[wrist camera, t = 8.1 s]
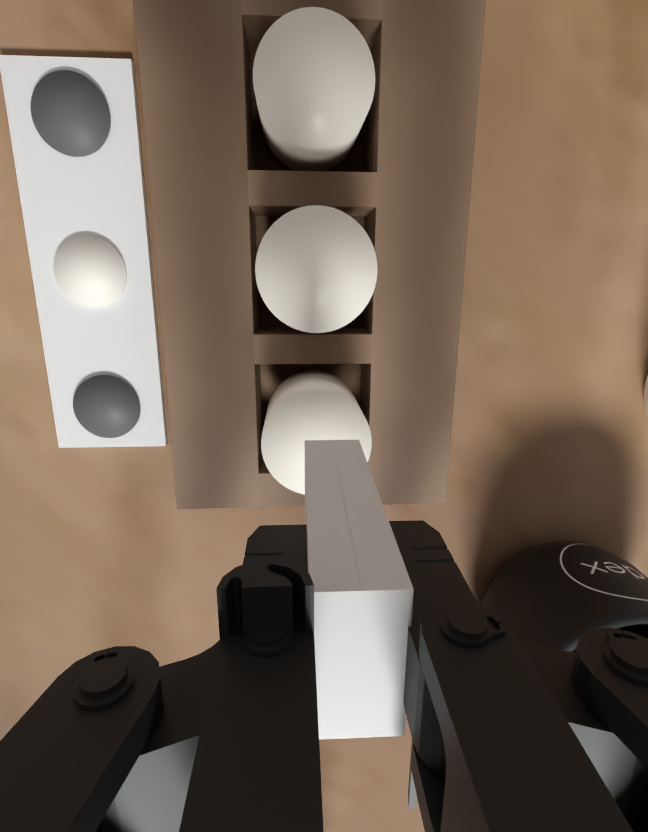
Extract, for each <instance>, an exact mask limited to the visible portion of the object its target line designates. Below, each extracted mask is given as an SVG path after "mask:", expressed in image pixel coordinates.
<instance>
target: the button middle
mask: <svg viewBox="0 0 648 832" xmlns="http://www.w3.org/2000/svg"><path fill="white" fill-rule="evenodd" d="M255 274H256V282H257V286H258V289H259V292H260V295H261V297H262V299H263V301H264V303H265V304H266V306H267V307H268V309H269V310H270V311H271V312H272V313H273V314H274V316H276V317H277V318H278V319H279V320H280V321H282V322H283V323H285V324H286V325H288V326H290V327H292V328H294V329H297V330H300V331H304V332H309V333H325V332H330V331H334V330H336V329H339V328H341V327H343V326H345V325H347V324H349V323H350V322H352V321H353V320H354V319H355V318H356V317H358V316H359V315H360V313H361V312H362V311H363V310H364V309H365V307H366V306H367V304H368V303H369V301H370V299H371V297H372V295H373V292H374V289H375V285H376V281H377V259H376V254H375V250H374V247H373V244H372V242H371V240H370V238H369V236H368V235H367V233H366V231H365V230H364V229H363V228H362V226H361V225H360V224H359V223H358V222H357V221H356V220H355V219H353V218H352V217H351V216H349V215H348V214H346V213H344V212H342V211H340V210H338V209H335V208H332V207H328V206H321V205H311V206H304V207H300V208H297V209H294V210H292V211H290V212H288V213H286V214H284V215H283V216H282V217H280V218H279V219H278V220H277V221H275V222H274V223H273V224H272V225H271V227H270V228H269V229H268V230H267V232H266V233H265V235H264V237H263V238H262V241H261V243H260V245H259V248H258V252H257V256H256V262H255Z"/></svg>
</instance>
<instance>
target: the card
mask: <svg viewBox="0 0 648 832" xmlns="http://www.w3.org/2000/svg"><path fill="white" fill-rule="evenodd" d="M0 70H1V77H2V83H3V90H4V96H5V103H6V109H7V115H8V122H9V128H10V135H11V141H12V148H13V154H14V161H15V167H16V174H17V180H18V187H19V193H20V199H21V206H22V212H23V219H24V225H25V232H26V238H27V245H28V251H29V258H30V264H31V271H32V277H33V283H34V290H35V296H36V303H37V309H38V316H39V322H40V329H41V335H42V342H43V348H44V355H45V361H46V367H47V374H48V380H49V387H50V393H51V400H52V406H53V413H54V419H55V426H56V432H57V439H58V445H59V448H70V447H134V446H166V445H167V433H166V421H165V410H164V399H163V388H162V377H161V365H160V354H159V343H158V332H157V321H156V309H155V298H154V287H153V276H152V265H151V253H150V242H149V231H148V220H147V209H146V198H145V186H144V175H143V164H142V153H141V142H140V130H139V119H138V108H137V97H136V86H135V74H134V63H133V61H132V60H131V59H118V58H85V57H51V56H18V55H0Z"/></svg>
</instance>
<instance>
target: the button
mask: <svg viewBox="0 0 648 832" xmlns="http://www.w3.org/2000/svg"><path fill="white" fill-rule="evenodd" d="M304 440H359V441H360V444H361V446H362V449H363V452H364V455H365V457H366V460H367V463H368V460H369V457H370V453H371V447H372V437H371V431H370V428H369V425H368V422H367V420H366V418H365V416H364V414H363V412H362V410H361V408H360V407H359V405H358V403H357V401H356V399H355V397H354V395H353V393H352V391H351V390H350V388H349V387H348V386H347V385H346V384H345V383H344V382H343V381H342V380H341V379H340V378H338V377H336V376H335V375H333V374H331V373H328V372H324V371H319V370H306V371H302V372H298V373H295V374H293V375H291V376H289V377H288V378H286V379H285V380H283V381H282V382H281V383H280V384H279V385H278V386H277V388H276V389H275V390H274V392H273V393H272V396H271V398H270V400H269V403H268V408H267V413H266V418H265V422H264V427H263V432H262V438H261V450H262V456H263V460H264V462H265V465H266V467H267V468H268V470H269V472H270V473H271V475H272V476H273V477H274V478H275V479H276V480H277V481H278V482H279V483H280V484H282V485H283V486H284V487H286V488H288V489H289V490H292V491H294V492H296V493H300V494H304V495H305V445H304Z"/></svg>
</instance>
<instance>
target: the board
mask: <svg viewBox="0 0 648 832" xmlns="http://www.w3.org/2000/svg"><path fill="white" fill-rule="evenodd" d="M485 3H486V0H133V5H134V17H135V28H136V40H137V51H138V63H139V74H140V86H141V97H142V109H143V120H144V132H145V143H146V155H147V166H148V178H149V189H150V201H151V213H152V224H153V236H154V247H155V259H156V270H157V282H158V293H159V305H160V316H161V328H162V339H163V351H164V362H165V374H166V385H167V397H168V408H169V420H170V431H171V443H172V454H173V466H174V477H175V489H176V500H177V509H199V508H242V507H286V506H305V495H304V494H300V493H296V492H294V491H292V490H289V489H288V488H286V487H284V486H283V485H282V484H280V483H279V482H278V481H277V480H276V479H275V478H274V477H273V476H272V475H271V473H270V472H269V470H268V468H267V467H266V465H265V462H264V460H263V456H262V450H261V438H262V413H261V382H260V364H361V394H360V408H361V410H362V412H363V414H364V416H365V418H366V420H367V422H368V425H369V428H370V431H371V437H372V447H371V453H370V457H369V460H368V466H369V468H370V471H371V474H372V477H373V479H374V482H375V485H376V487H377V490H378V493H379V496H380V498H381V501H382V504H415V503H446V491H447V478H448V466H449V453H450V441H451V428H452V416H453V403H454V391H455V378H456V366H457V353H458V341H459V328H460V316H461V303H462V290H463V278H464V265H465V253H466V240H467V228H468V215H469V203H470V190H471V178H472V165H473V153H474V140H475V128H476V115H477V103H478V90H479V78H480V65H481V53H482V40H483V28H484V15H485ZM304 7H320V8H325V9H329V10H332V11H334V12H336V13H339V14H340V15H342V16H343V17H345V18H346V19H348V20H349V21H350V22H351V23H352V24H353V25H354V26H355V27H356V28H357V29H358V30H359V32H360V33H361V34H362V36H363V37H364V39H365V41H366V43H367V45H368V47H369V49H370V52H371V55H372V58H373V62H374V69H375V91H374V96H373V101H372V104H371V107H370V109H369V112H368V118H367V158H366V172H334V171H276V170H254V166H253V136H252V105H251V74H250V54H256V51H257V49H258V46H259V44H260V42H261V40H262V38H263V36H264V34H265V33H266V32H267V30H268V29H269V28H270V27H271V25H272V24H273V23H274V22H275V21H277V20H278V19H279V18H280V17H282V16H283V15H285V14H287V13H289V12H291V11H293V10H296V9H299V8H304ZM311 205H321V206H328V207H332V208H335V209H338V210H340V211H342V212H344V213H346V214H348V215H349V216H351V217H365V231H366V233H367V235H368V236H369V238H370V240H371V242H372V244H373V247H374V250H375V254H376V259H377V281H376V285H375V289H374V292H373V295H372V297H371V299H370V301H369V303H368V304H367V306H366V307H365V309H364V310H363V315H362V327H341V328H339V329H336V330H334V331H330V332H325V333H309V332H304V331H300V330H297V329H294V328H292V327H259V320H258V289H257V282H256V274H255V262H256V228H255V215H257V216H283V215H284V214H286V213H288V212H290V211H292V210H294V209H297V208H300V207H304V206H311Z"/></svg>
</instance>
